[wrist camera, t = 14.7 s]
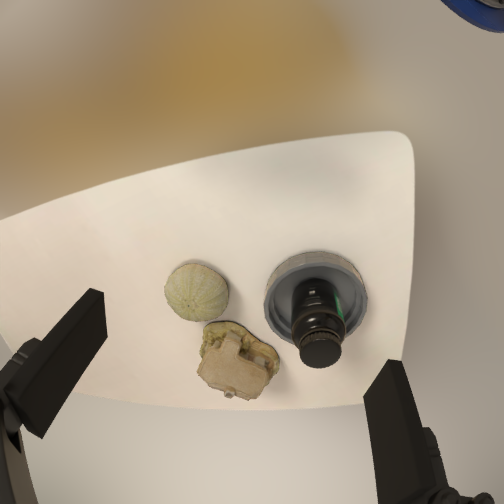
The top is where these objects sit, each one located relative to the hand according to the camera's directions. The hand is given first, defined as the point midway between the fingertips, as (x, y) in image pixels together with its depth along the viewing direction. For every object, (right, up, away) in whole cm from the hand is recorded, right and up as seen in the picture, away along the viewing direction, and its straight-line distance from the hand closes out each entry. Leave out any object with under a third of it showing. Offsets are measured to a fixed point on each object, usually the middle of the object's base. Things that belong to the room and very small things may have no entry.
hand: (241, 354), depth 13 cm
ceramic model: (-2, -12, +38) cm, 40 cm away
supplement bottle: (+10, -2, +31) cm, 33 cm away
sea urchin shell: (-7, -1, +33) cm, 34 cm away
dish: (+10, -2, +32) cm, 33 cm away
